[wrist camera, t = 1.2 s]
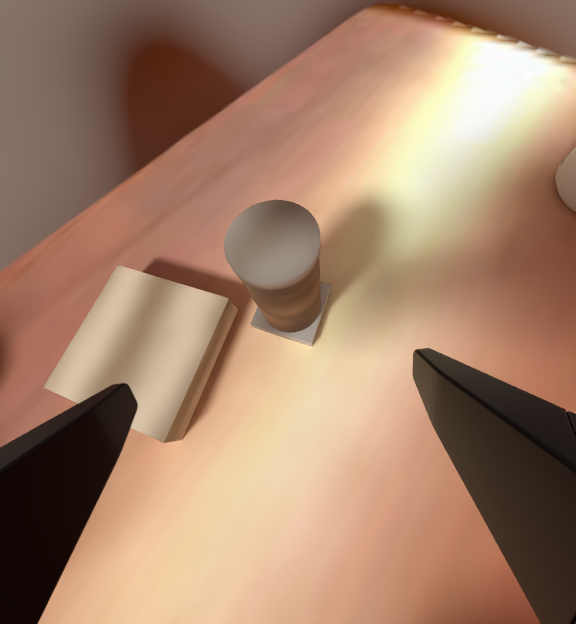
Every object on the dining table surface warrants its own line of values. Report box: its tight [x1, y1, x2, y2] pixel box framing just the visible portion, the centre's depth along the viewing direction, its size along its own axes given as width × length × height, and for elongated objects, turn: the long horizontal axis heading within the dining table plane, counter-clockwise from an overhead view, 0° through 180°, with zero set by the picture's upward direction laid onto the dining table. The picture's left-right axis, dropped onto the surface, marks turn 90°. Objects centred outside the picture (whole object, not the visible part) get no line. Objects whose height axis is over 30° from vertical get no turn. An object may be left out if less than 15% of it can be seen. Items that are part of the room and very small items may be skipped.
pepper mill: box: [224, 200, 331, 346], centre depth 19 cm, size 5×5×10 cm
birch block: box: [44, 265, 238, 443], centre depth 23 cm, size 11×11×3 cm
